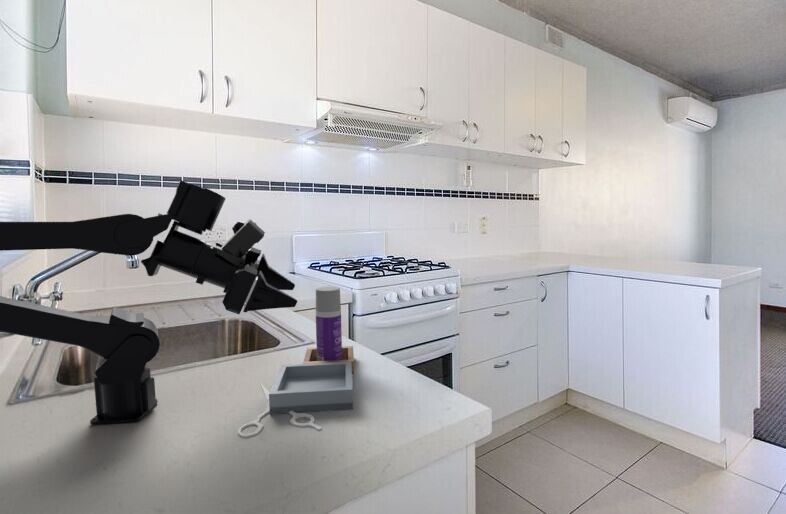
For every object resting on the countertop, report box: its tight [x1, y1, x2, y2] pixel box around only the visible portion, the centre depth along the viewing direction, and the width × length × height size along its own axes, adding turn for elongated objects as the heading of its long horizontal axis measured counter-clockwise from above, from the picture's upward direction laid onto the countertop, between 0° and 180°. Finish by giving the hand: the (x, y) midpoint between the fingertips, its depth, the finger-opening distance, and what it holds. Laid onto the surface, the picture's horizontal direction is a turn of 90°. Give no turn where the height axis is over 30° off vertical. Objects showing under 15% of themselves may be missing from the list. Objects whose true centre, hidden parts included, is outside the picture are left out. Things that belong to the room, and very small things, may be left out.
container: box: [315, 286, 343, 361], centre depth 80 cm, size 5×5×15 cm
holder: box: [302, 345, 355, 376], centre depth 80 cm, size 9×9×2 cm
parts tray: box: [268, 362, 354, 415], centre depth 68 cm, size 12×12×3 cm
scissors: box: [237, 382, 323, 438], centre depth 65 cm, size 11×1×20 cm
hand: (295, 295), depth 70 cm, fingers open, 9 cm apart
